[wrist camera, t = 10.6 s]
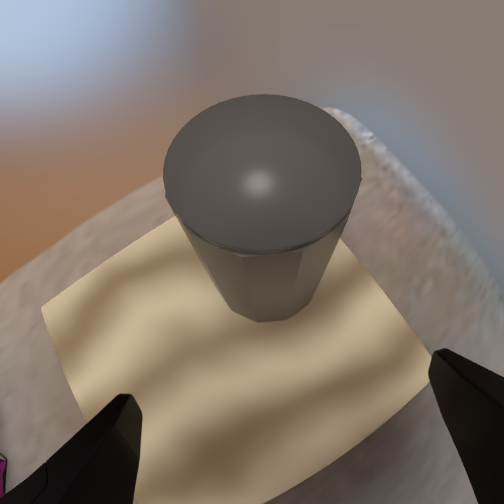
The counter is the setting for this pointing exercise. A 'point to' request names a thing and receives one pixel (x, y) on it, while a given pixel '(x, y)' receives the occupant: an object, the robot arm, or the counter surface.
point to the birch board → (232, 370)
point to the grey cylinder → (263, 198)
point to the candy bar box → (2, 475)
